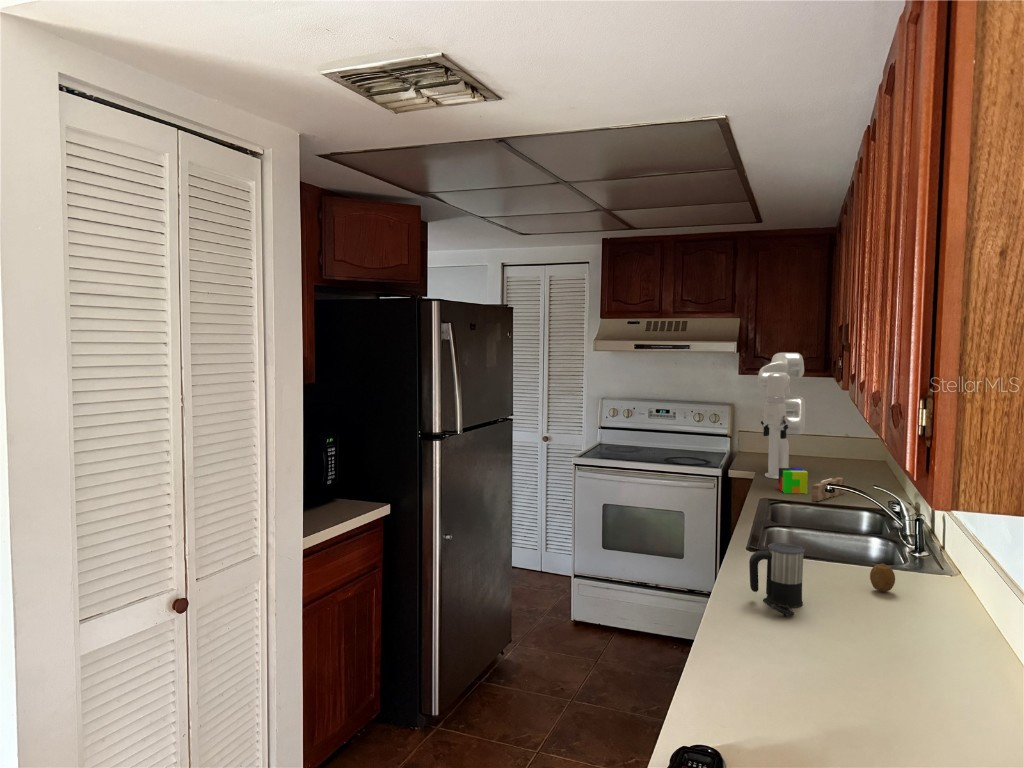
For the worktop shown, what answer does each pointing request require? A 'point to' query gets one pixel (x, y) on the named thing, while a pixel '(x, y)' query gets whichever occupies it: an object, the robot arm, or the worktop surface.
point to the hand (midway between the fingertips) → (774, 437)
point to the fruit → (882, 577)
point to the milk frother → (780, 576)
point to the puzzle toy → (793, 480)
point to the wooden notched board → (820, 493)
